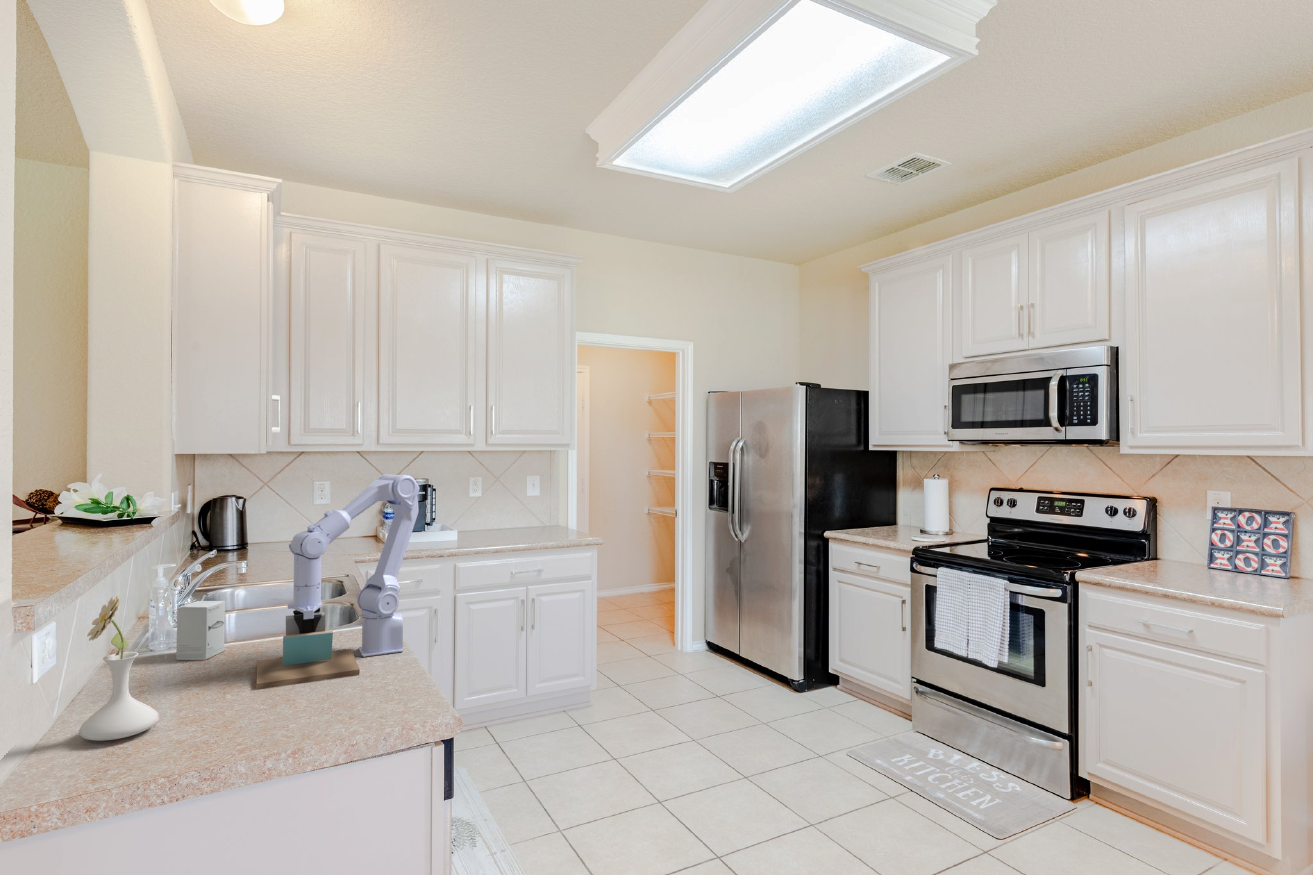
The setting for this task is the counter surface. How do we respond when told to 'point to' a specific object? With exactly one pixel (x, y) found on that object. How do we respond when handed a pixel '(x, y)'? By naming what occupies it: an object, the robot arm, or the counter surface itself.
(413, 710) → the counter surface
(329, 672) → the board
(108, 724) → the flower in vase
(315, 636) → the tile
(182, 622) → the supplement box
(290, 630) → the grey rectangular block
